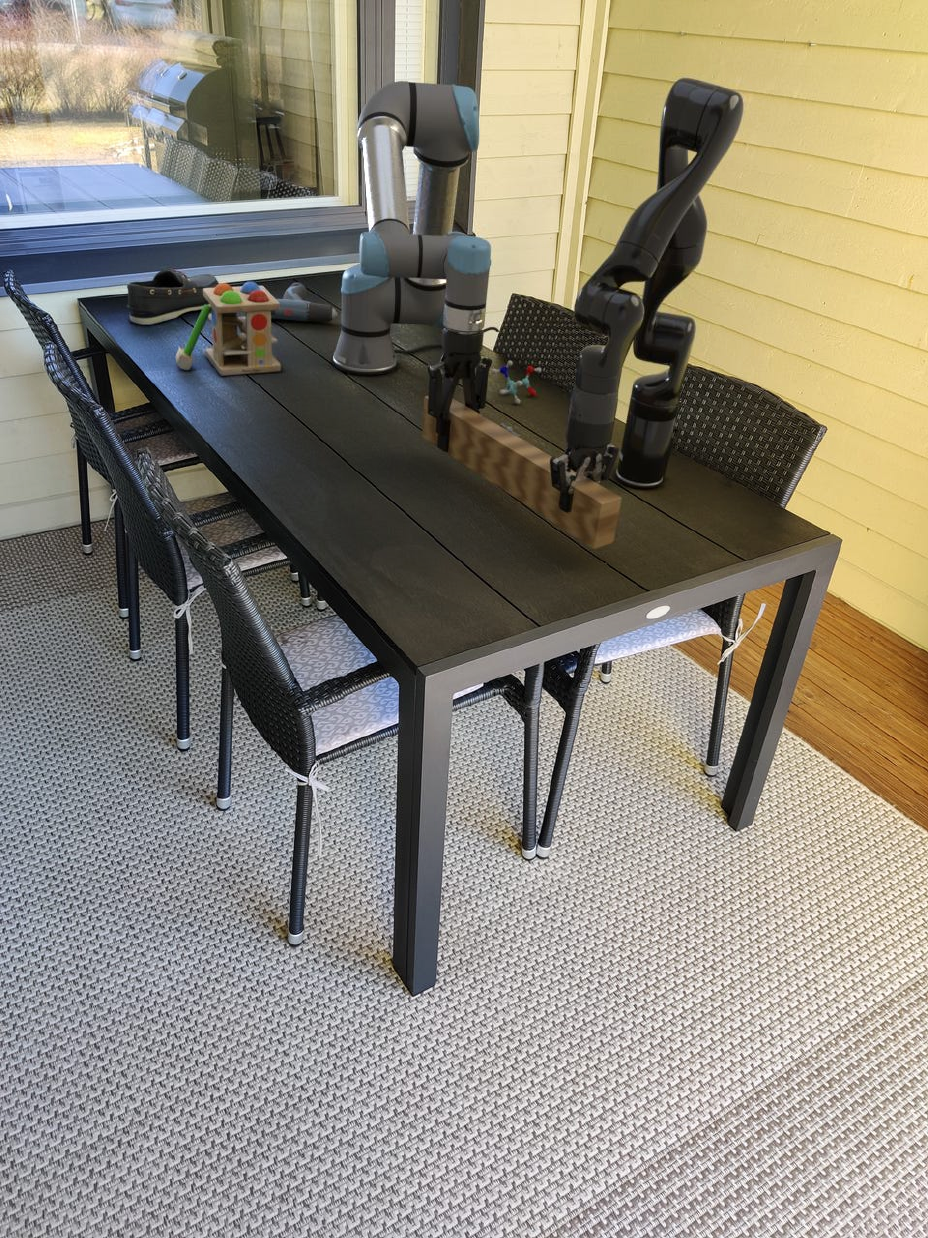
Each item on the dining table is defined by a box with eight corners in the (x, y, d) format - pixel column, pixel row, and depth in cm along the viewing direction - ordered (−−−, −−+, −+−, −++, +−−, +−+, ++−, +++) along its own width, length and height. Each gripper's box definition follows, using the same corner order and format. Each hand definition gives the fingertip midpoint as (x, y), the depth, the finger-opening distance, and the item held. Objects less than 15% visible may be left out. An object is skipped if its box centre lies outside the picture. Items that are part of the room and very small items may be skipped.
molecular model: (537, 396, 220) (523, 352, 219) (499, 410, 224) (485, 367, 222) (549, 394, 231) (536, 353, 229) (513, 408, 234) (500, 367, 233)
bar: (421, 437, 195) (424, 396, 190) (440, 432, 197) (443, 392, 193) (593, 549, 163) (601, 503, 158) (613, 542, 166) (622, 497, 161)
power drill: (344, 304, 276) (335, 327, 259) (277, 298, 275) (264, 321, 258) (344, 285, 273) (335, 306, 256) (277, 279, 272) (264, 300, 255)
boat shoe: (239, 303, 270) (236, 264, 265) (147, 326, 246) (142, 284, 241) (205, 294, 276) (202, 256, 270) (112, 317, 252) (106, 275, 247)
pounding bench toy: (183, 379, 220) (176, 299, 210) (169, 357, 231) (162, 280, 221) (282, 371, 230) (280, 294, 220) (264, 350, 240) (262, 276, 230)
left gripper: (435, 340, 171) (427, 462, 184) (513, 328, 180) (500, 445, 193) (411, 327, 176) (405, 447, 189) (488, 316, 185) (477, 431, 198)
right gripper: (574, 429, 151) (559, 526, 161) (639, 413, 159) (621, 507, 169) (543, 412, 156) (530, 507, 166) (607, 397, 164) (592, 489, 173)
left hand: (453, 446), depth 191 cm, fingers closed on bar, 5 cm apart
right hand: (576, 506), depth 167 cm, fingers closed on bar, 4 cm apart
